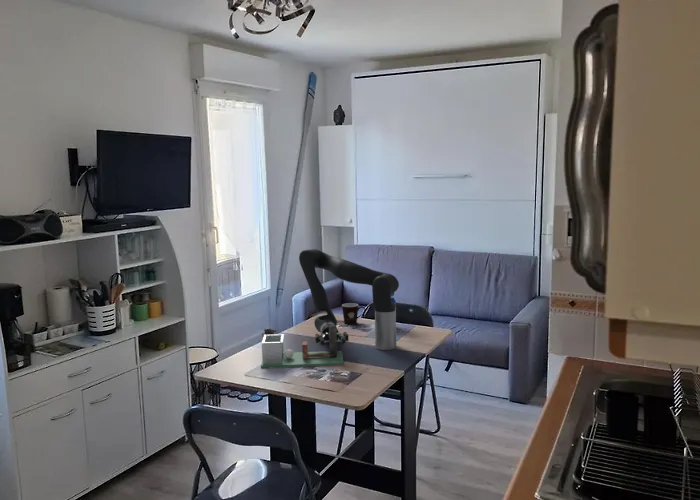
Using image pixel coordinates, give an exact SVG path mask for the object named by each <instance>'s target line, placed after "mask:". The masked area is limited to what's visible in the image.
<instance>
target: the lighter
mask: <svg viewBox="0 0 700 500" xmlns="http://www.w3.org/2000/svg"><path fill="white" fill-rule="evenodd" d="M263 331H264V332H262V333H261V336H262V337H261V338H263V337H264V335H276V334H277V329H276V328H275V329H274V328H271V327H269V328H264V329H263Z"/></svg>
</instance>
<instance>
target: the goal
mask: <svg viewBox="0 0 700 500" xmlns="http://www.w3.org/2000/svg"><path fill="white" fill-rule="evenodd" d="M275 334H276V335H264V337H262V341H261V356H262V357H261V359H262V361H261V363H262V362H263V364H280V363H282V355H284V352H285V350H284V340H285V334H284V333H283V334H278V333H275Z"/></svg>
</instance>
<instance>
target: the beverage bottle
mask: <svg viewBox="0 0 700 500" xmlns="http://www.w3.org/2000/svg"><path fill="white" fill-rule="evenodd" d="M394 296H395V292H394V293H392V294H391V302H392V303H394V304H395V325H396V326H397V324H396V323H397V312H396V311H397V305H396V303H397V302H396V299H395V297H394Z"/></svg>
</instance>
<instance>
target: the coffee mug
mask: <svg viewBox="0 0 700 500" xmlns="http://www.w3.org/2000/svg"><path fill="white" fill-rule="evenodd" d="M341 309H342V317H343V322H344V325H345V326H354V325H357V324H358V319H359V318H361V317H362V316H363V315H364V314H365V313H366V308H365V307H364V306H359V304H358V303H355V302H354V303H353V302H348V303H343V304H341ZM360 309H363V312H362V313H361V314H360V315H358V313H359V311H360Z"/></svg>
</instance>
